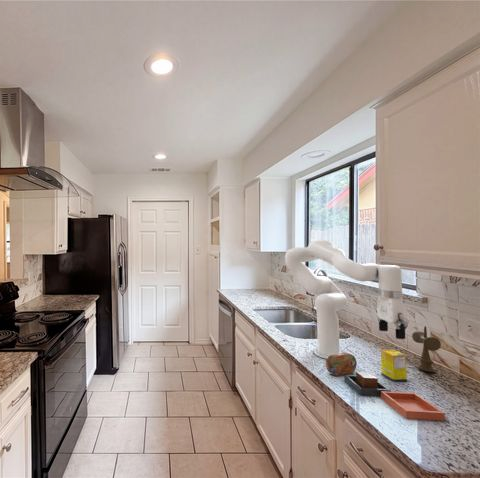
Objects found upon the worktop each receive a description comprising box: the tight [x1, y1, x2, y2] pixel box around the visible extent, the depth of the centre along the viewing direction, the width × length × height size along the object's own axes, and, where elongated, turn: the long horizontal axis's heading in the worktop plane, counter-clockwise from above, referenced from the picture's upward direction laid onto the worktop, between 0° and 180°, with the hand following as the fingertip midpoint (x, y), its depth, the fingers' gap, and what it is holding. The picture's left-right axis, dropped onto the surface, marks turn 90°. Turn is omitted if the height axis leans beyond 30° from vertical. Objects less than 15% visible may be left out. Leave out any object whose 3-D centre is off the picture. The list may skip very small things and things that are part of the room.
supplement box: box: [380, 349, 408, 382], centre depth 113 cm, size 6×6×11 cm
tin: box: [325, 352, 358, 377], centre depth 117 cm, size 15×3×8 cm, turn 105°
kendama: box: [411, 325, 442, 373], centre depth 119 cm, size 6×10×20 cm, turn 163°
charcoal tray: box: [343, 374, 392, 397], centre depth 105 cm, size 11×11×2 cm
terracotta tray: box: [380, 391, 446, 422], centre depth 92 cm, size 12×12×2 cm
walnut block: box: [355, 371, 379, 389], centre depth 105 cm, size 5×5×5 cm
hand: (391, 334), depth 112 cm, fingers open, 9 cm apart
